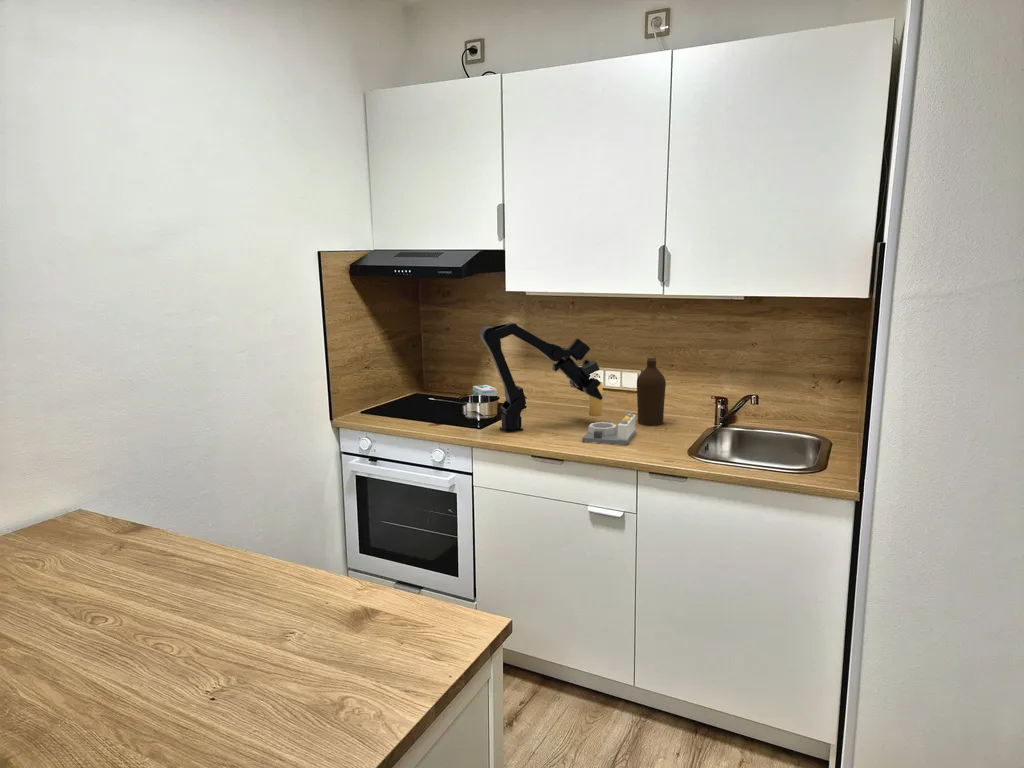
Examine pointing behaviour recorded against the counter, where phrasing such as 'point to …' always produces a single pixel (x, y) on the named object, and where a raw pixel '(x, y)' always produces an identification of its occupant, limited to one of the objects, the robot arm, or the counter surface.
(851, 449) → the counter surface
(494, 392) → the light bulb box
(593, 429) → the ball rail dock
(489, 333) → the robot arm
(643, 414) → the olive oil
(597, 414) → the cap
